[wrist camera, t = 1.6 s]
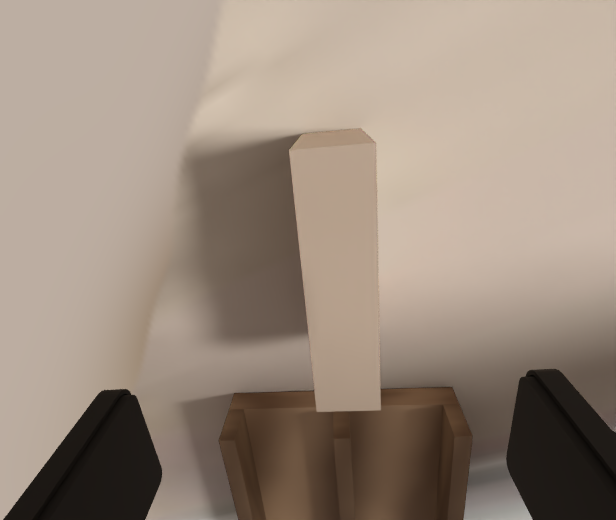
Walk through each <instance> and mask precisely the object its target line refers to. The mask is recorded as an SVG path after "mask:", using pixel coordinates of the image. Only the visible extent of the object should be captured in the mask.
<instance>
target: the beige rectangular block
mask: <svg viewBox="0 0 616 520" xmlns="http://www.w3.org/2000/svg"><path fill="white" fill-rule="evenodd" d="M289 156H290V165H291V175H292V184H293V193H294V203H295V212H296V222H297V231H298V241H299V250H300V259H301V269H302V278H303V288H304V297H305V306H306V316H307V325H308V335H309V344H310V354H311V363H312V372H313V382H314V391H315V401H316V410H317V412H335V411H374V410H381V390H380V334H379V278H378V222H377V166H376V142H375V141H374V140H373V139H372V138H371V137H370V136H369V135H368V134H366V133H365V132H364V131H363V130H362V129H361V128H359V129H348V130H337V131H326V132H315V133H304V134H302V135H301V136H300V137H299V139H298V140H297V141H296V142H295V143H294V145H293V146H292V147H291V148H290V150H289Z"/></svg>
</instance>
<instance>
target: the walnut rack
mask: <svg viewBox="0 0 616 520" xmlns="http://www.w3.org/2000/svg"><path fill="white" fill-rule="evenodd" d="M380 390H381V410H374V411H335V412H317V410H316V401H315V391H300V392H265V393H234V396H233V399H232V402H231V405H230V408H229V411H228V414H227V417H226V420H225V423H224V426H223V429H222V432H221V435H220V438H219V444H220V448H221V452H222V456H223V460H224V464H225V468H226V472H227V476H228V480H229V484H230V488H231V492H232V496H233V500H234V504H235V508H236V512H237V516H238V520H463V518H464V509H465V500H466V491H467V482H468V473H469V464H470V455H471V446H472V437H473V436H472V434H471V431H470V429H469V427H468V424H467V422H466V419H465V417H464V415H463V412H462V410H461V407H460V405H459V403H458V400H457V398H456V395H455V393H454V391H453V388H452V387H439V388H404V389H380Z"/></svg>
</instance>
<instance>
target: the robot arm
mask: <svg viewBox="0 0 616 520" xmlns="http://www.w3.org/2000/svg"><path fill="white" fill-rule="evenodd" d="M506 460H507V466H508V470H509V472H510V475H511V477H512V479H513V481H514V483H515V485H516V487H517V489H518V491H519V493H520V495H521V497H522V499H523V501H524V503H525V505H526V507H527V509H528V511H529V513H530V515H531V517H532V519H533V520H616V433H615V432H614V431H612V430H611V429H610V428H609V427H608V425H607V424H606V423H605V422H604V421H603V420H602V419H601V417H600V416H599V415H598V414H597V413H596V412H595V411H594V409H593V408H592V407H591V406H590V405H589V404H588V403H587V401H586V400H585V399H584V398H583V397H582V396H581V394H580V393H579V392H578V391H577V390H576V389H575V388H574V386H573V385H572V384H571V383H570V382H569V381H568V380H567V378H566V377H565V376H564V375H563V374H562V373H561V372H560V371H559V370H557V369H544V370H529V371H528V372H527V374H526V377H521V378H520V381H519V385H518V391H517V397H516V403H515V409H514V415H513V421H512V427H511V433H510V439H509V445H508V451H507V458H506ZM161 478H162V468H161V465H160V462H159V459H158V456H157V454H156V451H155V448H154V445H153V442H152V439H151V437H150V434H149V431H148V428H147V425H146V422H145V419H144V417H143V414H142V411H141V408H140V405H139V402H138V400H137V397H136V396H135V395H131V393H130V391H129V390H127V389H120V390H104V391H101V392H100V393H99V394H98V395H97V396H96V398H95V399H94V400H93V402H92V403H91V404H90V406H89V407H88V408H87V410H86V411H85V412H84V414H83V415H82V417H81V418H80V419H79V420H78V422H77V423H76V424H75V426H74V427H73V428H72V430H71V431H70V432H69V434H68V435H67V436H66V437H65V439H64V440H63V442H62V443H61V444H60V445H59V447H58V448H57V449H56V451H55V452H54V454H53V455H52V456H51V457H50V459H49V460H48V461H47V463H46V464H45V465H44V467H43V468H42V469H41V471H40V472H39V473H38V474H37V476H36V477H35V478H34V480H33V481H32V482H31V484H30V485H29V487H28V488H27V489H26V490H25V492H24V493H23V494H22V496H21V497H20V498H19V500H18V501H17V502H16V504H15V505H14V506H13V508H12V509H11V510H10V512H9V513H8V515H7V516H6V517H5V518H4V519H3V520H145V519H146V516H147V514H148V511H149V509H150V507H151V504H152V502H153V500H154V497H155V495H156V492H157V490H158V488H159V485H160V482H161Z"/></svg>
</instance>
